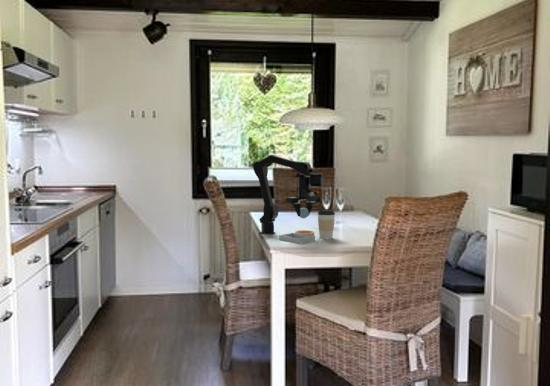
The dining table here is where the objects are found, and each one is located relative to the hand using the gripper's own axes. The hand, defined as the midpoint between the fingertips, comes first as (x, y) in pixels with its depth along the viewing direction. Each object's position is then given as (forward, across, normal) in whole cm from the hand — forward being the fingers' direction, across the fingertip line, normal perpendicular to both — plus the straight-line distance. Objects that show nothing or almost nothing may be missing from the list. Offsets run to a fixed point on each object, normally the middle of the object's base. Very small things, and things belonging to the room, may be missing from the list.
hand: (303, 215), depth 279 cm
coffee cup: (+11, +8, -9) cm, 16 cm away
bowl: (+11, +2, +2) cm, 11 cm away
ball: (+1, 0, 0) cm, 1 cm away
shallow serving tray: (+11, -9, -7) cm, 16 cm away
